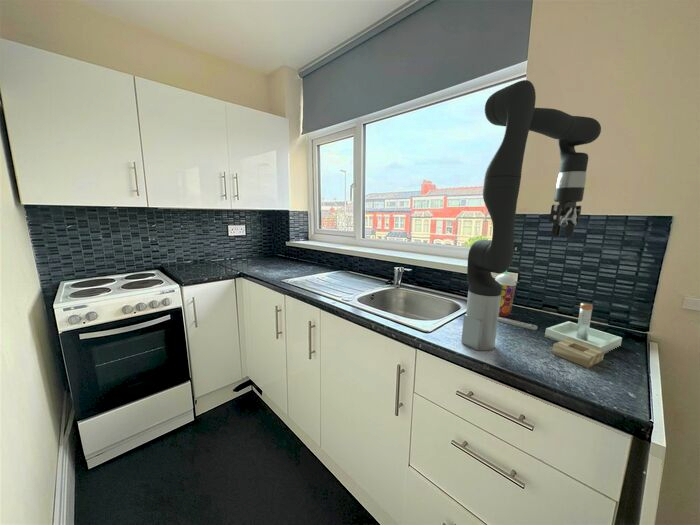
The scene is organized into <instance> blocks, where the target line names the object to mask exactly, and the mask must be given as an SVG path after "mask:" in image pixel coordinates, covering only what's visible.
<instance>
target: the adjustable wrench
mask: <svg viewBox="0 0 700 525" xmlns="http://www.w3.org/2000/svg"><path fill="white" fill-rule="evenodd" d="M499 322H500V323H504V324H508V325H512V326H516V327H520V328H524V329H528V330H534V331H537V330H538V326H537V325H535V324H531V323H526V322H522V321H519V320H515V319H514V320H513V319H510V318H506V317H503V316H498V323H499Z"/></svg>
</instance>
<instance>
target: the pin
mask: <svg viewBox="0 0 700 525" xmlns="http://www.w3.org/2000/svg"><path fill="white" fill-rule="evenodd" d="M593 308H594V305H593V304H591V303H588V302H580V304H579V313H578V320H577V324H578V327H577V334H576V338H578V339H581V340H584V341H587V340H588V334H589V328H591V327H590V326H591V318H592V312H593Z"/></svg>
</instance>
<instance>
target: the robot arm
mask: <svg viewBox="0 0 700 525" xmlns="http://www.w3.org/2000/svg"><path fill="white" fill-rule="evenodd" d="M536 98H537V96H536V89H535V86H534V84H533V83H532V81H530V80H529V79H528V80H527V79H523V80H519V81H516V82H515V83H512V84H510V85H508V86H507V85H506V86H505V87H503V88H501V89H499V90H497V91H495V92H493V93H492V94H491V95H489V97H488V98H487V100H486V101H485V105H484V115H485V118H486V119H487V121H488V122H489V123H490V124H492V125H494V126H500V127H505V131H504V134H503V138H502V141H501V143H500V145H499V147H498V149H497V150H496V152H495V153H494V155H493V156H492V159H491V160H490V162H489V164H488V166H487V168H486V170H485V174H484V179H483V188H482V199H483V201H484V205H485V207H486V210H487V211H488V214H489V216H490V218H491V222H492V234H491V239H489V240H488V239H478V240H475V241H474V242H473V243H472V245H471V246H470V248H469V251H468V255H467V271H466V272H467V273H466V281H467V284H468V285H467V286H468V290H467V291H468V292H467V299H466V311H465V314H464V315H463V322H462V331H461V332H462V333H461V341H460V342H461V343H462V344H464V345H465V346H467V347H469V348H471V349H473V350H476V351H491V350H494V349H495V347H496V341H497V331H498V324H499V321H498V317H500V316H499V308H500V301H501V293H502V286H501V284H500V283H498V282H497V281H496V280H495V277H494V276H493V275H492V273H493V274H498V275H500V274H504V273H505V272H506V271H507V272H508V270H509V269H510V267H511V264H512V261H513V257H514V249H515V248H514V246H515V222H516V214H517V204H518V198H519V192H520V186H521V179H522V171H523V165H524V164H523V163H524V157H525V150H526V146H527V141H528V137H529V132H533V133H537V134H540V135H543V136H546V137H548V138H551V139H554V140H557V145H558V149H559V156H560V164H559V172H558V175H557V176H558V177H557V180H556V187H555V192H554V198H553V200H554V202H555V203H558V204H552V205H551V209H550V213H549V214H550V215H549V220H548V223H549V224H551V225H552V230H551V234H550V235H551V237H554V238H559V237H560V236H561V231H562V224H563V223H564V221H565V223H566V224H565V231H564V236H565V237H573V236H574V233H575V232H574V231H575V226H576V225H577V224H579V223H580V220H581V219H580V218H581V212H582V205H577V203H580V202H582V201H583V199H584V194H585V186H586V182H587V168H588V164H589V154H588V153H586V152H577V151H576V148H575V147H577V146H581V145H587V144H588V145H589V144H591V143H593V142H595V141H596V140H597V139H598V138H599V136H600V135H601V132H602V125H601V123H600V121H599V120H597V119H595V118H593V117H590V116H589V117H588V116H582V115H580V116H579V115H571V114H569V113H567V112H565V111H562V110H559V109H557V108H547V107H535V106H536Z"/></svg>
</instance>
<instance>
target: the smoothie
mask: <svg viewBox="0 0 700 525" xmlns="http://www.w3.org/2000/svg"><path fill="white" fill-rule="evenodd" d="M494 279H495V280H496V281H497V282H498V283H500V284H501V286H502V293H501V301H500V308H499V316H498V317H507V316H509V314H511V311H512V307H513V303H514V299H515V298H514V297H515V293H516V292H515V291H516V288H517V282H516V280H515V278H514V277H513V276H512V275H511V274H509V273H508V270H507V271H506V272H504V273H500V274H498V275H496V277H494Z"/></svg>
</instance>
